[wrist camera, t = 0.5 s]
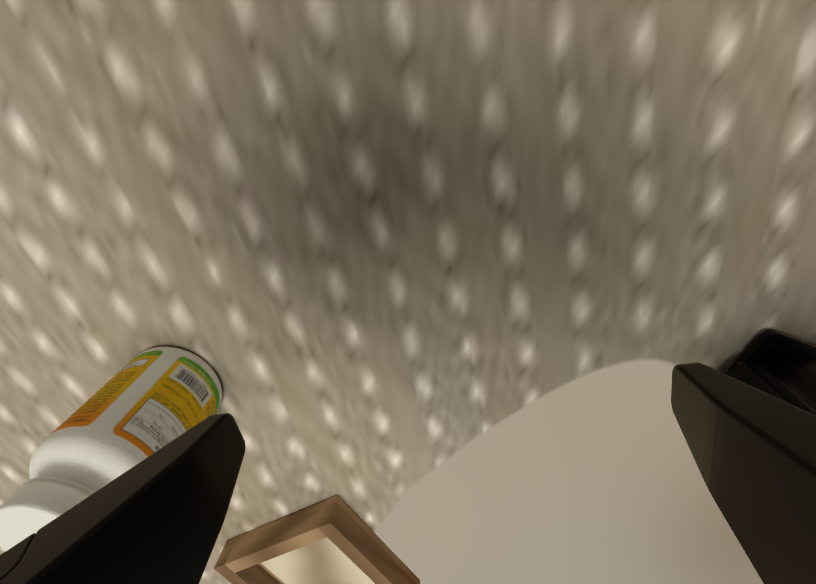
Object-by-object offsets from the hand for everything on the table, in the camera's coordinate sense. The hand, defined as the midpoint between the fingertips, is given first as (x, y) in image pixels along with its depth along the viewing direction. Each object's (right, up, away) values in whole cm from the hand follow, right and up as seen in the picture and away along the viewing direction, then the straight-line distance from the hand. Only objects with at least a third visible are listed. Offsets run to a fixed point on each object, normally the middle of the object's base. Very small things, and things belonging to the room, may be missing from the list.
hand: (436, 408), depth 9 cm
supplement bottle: (-14, -3, +17) cm, 22 cm away
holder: (-7, -17, +23) cm, 29 cm away
